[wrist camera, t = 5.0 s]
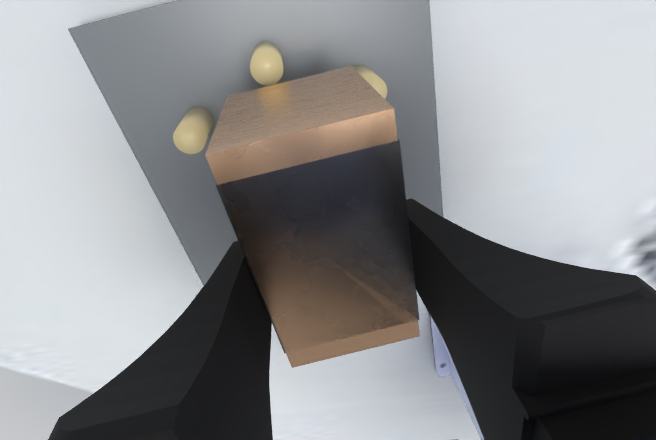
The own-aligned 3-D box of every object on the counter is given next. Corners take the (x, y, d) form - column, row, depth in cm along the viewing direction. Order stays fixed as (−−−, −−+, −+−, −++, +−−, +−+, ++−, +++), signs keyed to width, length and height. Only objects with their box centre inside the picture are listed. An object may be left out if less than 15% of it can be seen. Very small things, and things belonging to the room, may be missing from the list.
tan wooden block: (381, 244, 18) (421, 335, 13) (285, 267, 18) (290, 367, 13) (352, 65, 14) (396, 107, 9) (225, 96, 14) (203, 155, 9)
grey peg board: (438, 247, 24) (463, 287, 21) (222, 302, 24) (215, 350, 21) (415, -61, 16) (451, -72, 12) (80, 25, 16) (33, 36, 12)
